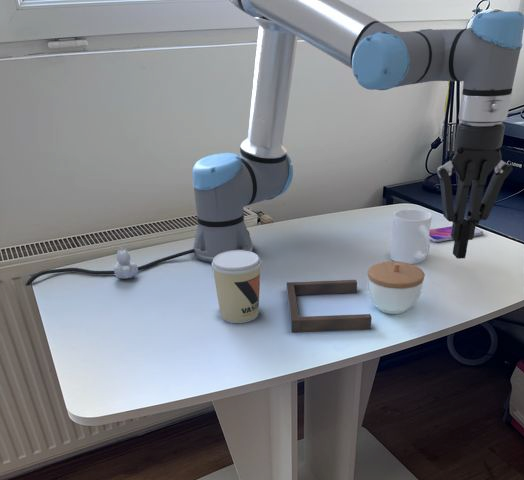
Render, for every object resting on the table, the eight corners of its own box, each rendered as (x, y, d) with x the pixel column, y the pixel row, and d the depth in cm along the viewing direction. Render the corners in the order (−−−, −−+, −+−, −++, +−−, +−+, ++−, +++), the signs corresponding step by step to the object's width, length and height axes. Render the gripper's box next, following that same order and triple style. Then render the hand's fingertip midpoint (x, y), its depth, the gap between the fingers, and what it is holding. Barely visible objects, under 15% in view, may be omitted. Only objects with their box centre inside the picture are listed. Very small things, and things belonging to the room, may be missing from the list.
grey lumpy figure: (137, 271, 124) (131, 239, 119) (141, 281, 118) (135, 249, 114) (114, 275, 122) (107, 243, 118) (117, 285, 117) (110, 252, 113)
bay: (291, 332, 96) (291, 320, 95) (286, 292, 111) (286, 282, 109) (370, 329, 96) (371, 317, 95) (355, 290, 111) (356, 279, 109)
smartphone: (484, 232, 135) (435, 240, 131) (484, 235, 135) (434, 243, 132) (467, 223, 141) (420, 230, 137) (467, 226, 141) (419, 233, 138)
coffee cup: (246, 329, 98) (242, 272, 91) (207, 318, 102) (201, 262, 96) (271, 309, 104) (269, 254, 98) (233, 300, 109) (230, 246, 102)
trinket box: (415, 295, 107) (420, 253, 102) (423, 320, 98) (430, 275, 93) (363, 294, 109) (366, 253, 103) (367, 319, 100) (370, 275, 95)
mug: (409, 272, 117) (415, 227, 112) (382, 254, 127) (386, 211, 121) (441, 266, 119) (448, 222, 114) (412, 249, 129) (418, 207, 123)
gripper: (449, 127, 82) (430, 265, 94) (531, 123, 82) (500, 261, 94) (435, 120, 88) (419, 250, 101) (511, 117, 88) (485, 247, 101)
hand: (458, 255), depth 98 cm, fingers closed
